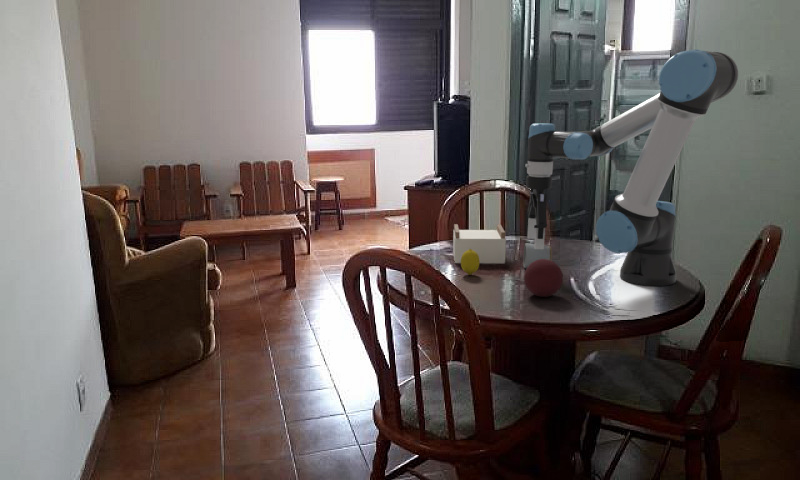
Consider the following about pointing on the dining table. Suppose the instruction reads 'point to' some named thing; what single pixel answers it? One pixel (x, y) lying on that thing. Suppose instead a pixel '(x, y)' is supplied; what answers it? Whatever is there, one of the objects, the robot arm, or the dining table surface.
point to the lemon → (470, 261)
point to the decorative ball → (543, 277)
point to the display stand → (480, 244)
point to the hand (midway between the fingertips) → (535, 243)
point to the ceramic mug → (535, 254)
